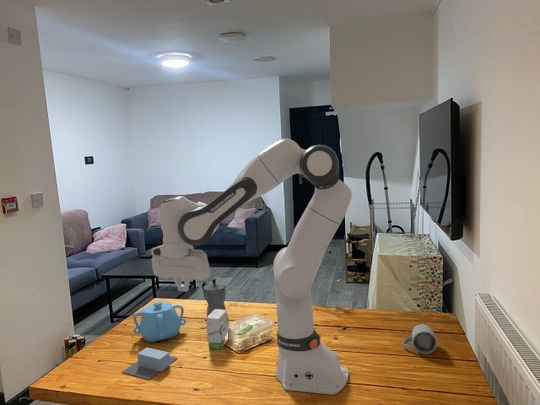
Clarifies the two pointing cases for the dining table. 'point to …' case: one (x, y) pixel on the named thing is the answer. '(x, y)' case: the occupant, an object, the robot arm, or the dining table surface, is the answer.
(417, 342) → the ceramic mug
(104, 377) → the dining table surface
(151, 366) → the block
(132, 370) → the mat
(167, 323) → the decorative pot
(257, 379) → the dining table surface
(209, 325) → the ink box
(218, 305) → the coffeepot
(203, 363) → the dining table surface
